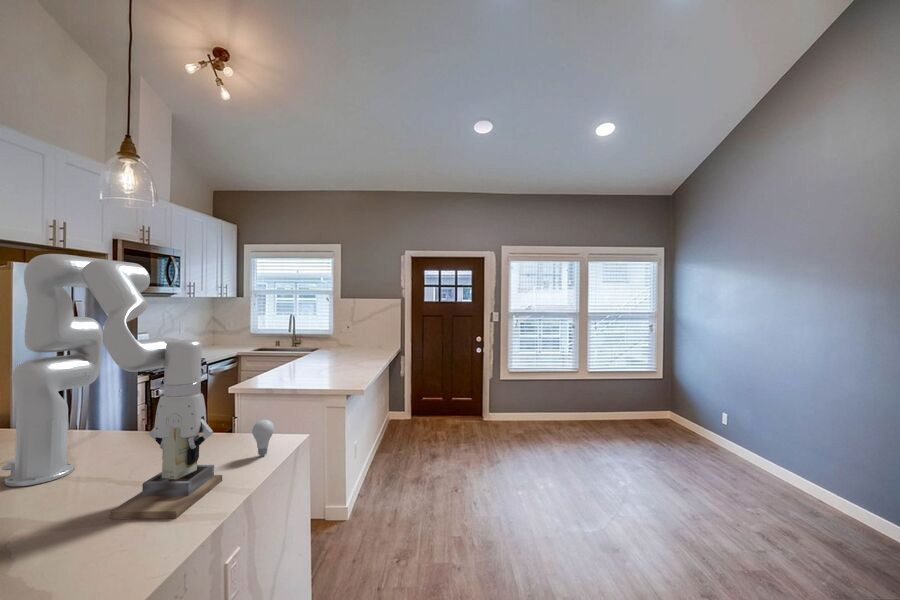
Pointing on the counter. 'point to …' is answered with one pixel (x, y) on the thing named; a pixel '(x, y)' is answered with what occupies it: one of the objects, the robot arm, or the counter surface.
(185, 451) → the skincare box
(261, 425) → the lightbulb
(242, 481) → the counter surface
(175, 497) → the holder board
